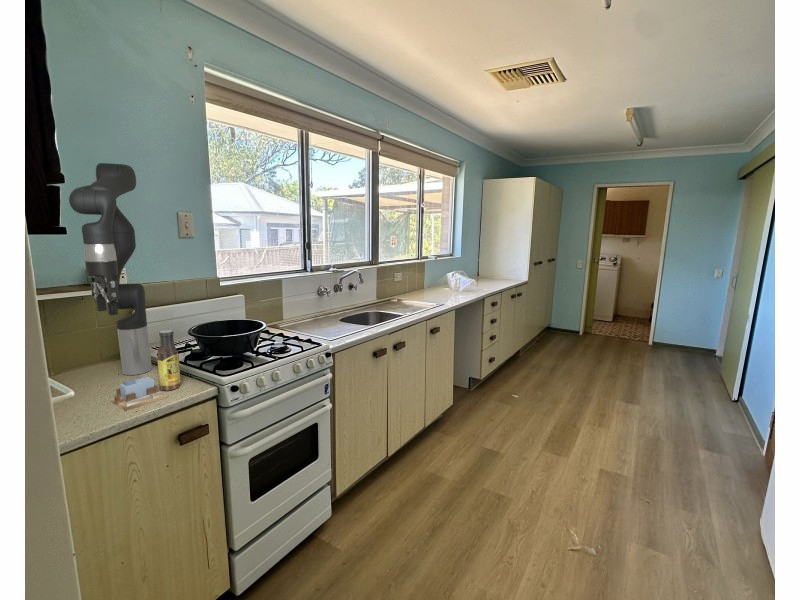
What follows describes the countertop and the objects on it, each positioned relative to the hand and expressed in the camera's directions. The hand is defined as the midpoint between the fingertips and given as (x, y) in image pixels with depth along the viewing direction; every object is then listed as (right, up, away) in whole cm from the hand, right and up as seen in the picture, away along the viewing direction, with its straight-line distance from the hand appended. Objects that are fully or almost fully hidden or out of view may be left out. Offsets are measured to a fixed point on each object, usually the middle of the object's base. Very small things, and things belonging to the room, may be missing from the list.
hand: (107, 312), depth 118 cm
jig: (+5, -28, +6) cm, 29 cm away
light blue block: (+5, -27, +6) cm, 28 cm away
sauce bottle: (+10, -26, +15) cm, 32 cm away
